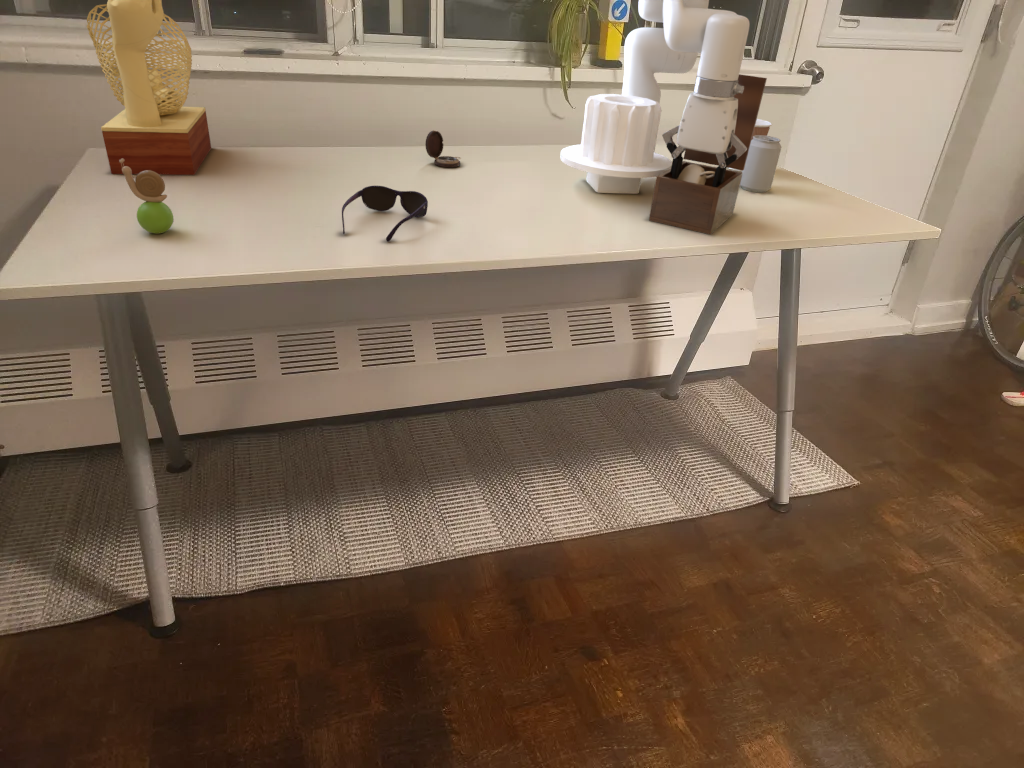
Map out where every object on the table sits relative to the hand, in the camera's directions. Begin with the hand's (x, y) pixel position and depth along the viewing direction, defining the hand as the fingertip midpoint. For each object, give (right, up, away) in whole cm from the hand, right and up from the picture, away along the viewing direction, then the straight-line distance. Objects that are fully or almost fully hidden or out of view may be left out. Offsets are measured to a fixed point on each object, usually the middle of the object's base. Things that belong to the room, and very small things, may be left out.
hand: (695, 181), depth 141 cm
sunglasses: (-60, -12, -11) cm, 62 cm away
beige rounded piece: (-1, -2, +2) cm, 2 cm away
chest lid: (+6, +13, +3) cm, 15 cm away
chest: (+1, -6, +6) cm, 8 cm away
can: (+22, +6, +29) cm, 37 cm away
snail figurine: (-97, -15, -22) cm, 100 cm away
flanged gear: (-14, +5, +21) cm, 26 cm away
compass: (-52, +13, +29) cm, 61 cm away
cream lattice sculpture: (-114, +8, +14) cm, 115 cm away
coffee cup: (+24, +16, +46) cm, 54 cm away
